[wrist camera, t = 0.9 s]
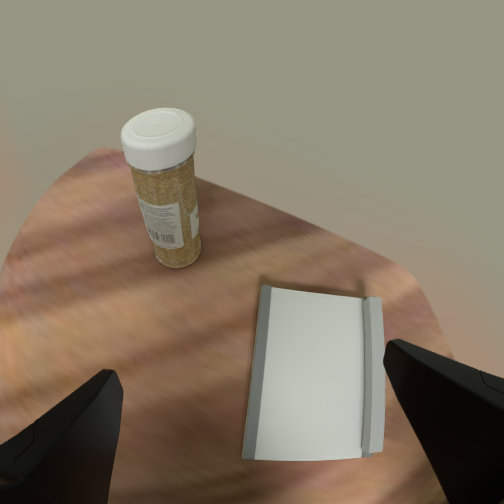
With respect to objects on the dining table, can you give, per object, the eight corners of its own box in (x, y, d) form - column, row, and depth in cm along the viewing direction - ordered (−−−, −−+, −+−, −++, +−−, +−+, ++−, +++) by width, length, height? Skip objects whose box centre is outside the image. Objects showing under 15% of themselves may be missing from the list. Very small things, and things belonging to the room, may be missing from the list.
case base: (366, 454, 17) (381, 457, 15) (241, 456, 17) (244, 461, 15) (368, 303, 25) (380, 292, 23) (260, 291, 25) (264, 277, 23)
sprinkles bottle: (211, 245, 27) (211, 118, 15) (178, 279, 24) (152, 155, 13) (176, 221, 28) (160, 98, 16) (143, 252, 26) (105, 130, 14)
